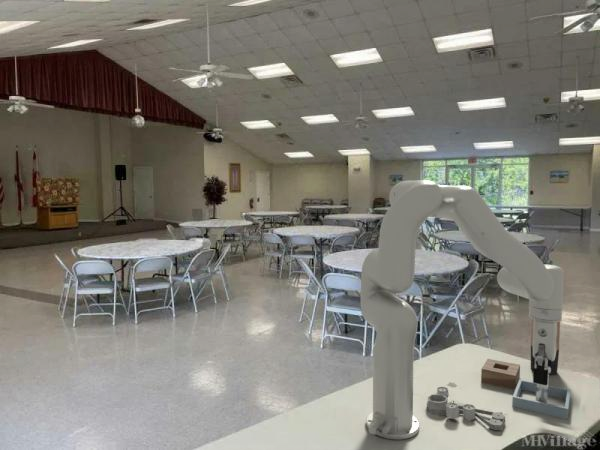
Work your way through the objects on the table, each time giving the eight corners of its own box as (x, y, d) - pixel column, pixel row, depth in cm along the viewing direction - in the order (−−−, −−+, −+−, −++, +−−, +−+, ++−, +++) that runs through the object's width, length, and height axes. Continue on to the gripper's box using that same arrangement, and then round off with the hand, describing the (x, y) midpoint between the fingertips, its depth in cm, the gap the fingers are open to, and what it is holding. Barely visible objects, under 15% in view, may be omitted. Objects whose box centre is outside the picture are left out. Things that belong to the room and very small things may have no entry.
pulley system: (461, 444, 106) (515, 430, 110) (460, 424, 106) (514, 411, 110) (402, 395, 132) (448, 385, 136) (401, 379, 132) (447, 370, 136)
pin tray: (567, 422, 113) (567, 409, 112) (512, 409, 119) (512, 396, 119) (569, 402, 123) (570, 389, 123) (518, 391, 130) (519, 379, 130)
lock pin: (548, 408, 119) (550, 370, 118) (533, 404, 121) (534, 367, 120) (549, 402, 122) (551, 366, 121) (534, 399, 124) (536, 363, 123)
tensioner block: (514, 392, 129) (515, 375, 128) (481, 385, 134) (481, 368, 133) (519, 381, 136) (520, 364, 136) (487, 374, 141) (487, 358, 141)
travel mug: (563, 375, 140) (566, 311, 138) (546, 380, 136) (549, 314, 134) (540, 366, 146) (543, 305, 145) (524, 371, 143) (526, 308, 141)
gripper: (559, 323, 110) (556, 393, 111) (563, 307, 124) (560, 368, 126) (524, 319, 114) (521, 385, 115) (532, 303, 128) (530, 362, 130)
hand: (542, 376), depth 121 cm, fingers open, 9 cm apart
